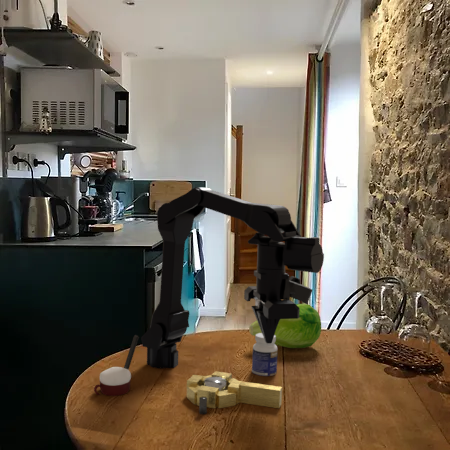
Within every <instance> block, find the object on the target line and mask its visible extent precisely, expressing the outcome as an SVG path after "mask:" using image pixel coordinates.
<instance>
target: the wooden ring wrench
mask: <svg viewBox="0 0 450 450" xmlns="http://www.w3.org/2000/svg"><path fill="white" fill-rule="evenodd" d="M209 377H221V378H224V379H225V380H226V390H223V391H219V388H215V387H208V386H204V380H205V379H206V378H209ZM282 395H283V386H277V385H270V384H262V383H256V382H247V381H243V380H238V379H236V378H234V377H233V373H230V372H223V371H214V372H213V373H212V374H210V375H198V374H192V376H191V377H190V378H188V379H187V380H186V398H187V399H188V400H189V401H190V402H191V403H192V404H193V405H195V406H198V407H199V399H200V397H207V408H210V409H216V408H218V409H223V408H228V407H234V406H236V405H239V404H240V403H242V404H248V405H254V406H259V407H260V406H261V407H269V408H275V409H280V408H281V406H282V402H283V401H282V400H283V399H282V398H283V397H282Z"/></svg>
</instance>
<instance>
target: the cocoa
mask: <svg viewBox="0 0 450 450" xmlns="http://www.w3.org/2000/svg"><path fill="white" fill-rule="evenodd" d="M139 338H140V337H139V335H137V334H135V335H134V336H133V338H132V342H131V344H130V347H129V351H128V353H127V354H128V355H127V357H126V360H125V363H124V365H123V367H121V366H112V367H109V368H107V369H105V370H103V371H101V372H100V373H99V384H96V385H95V386H94V388H93V390H94V393H95V394H96V395H98V396H99V395H100V396H101V393H102V394H103V395H105V396H109V397H110V396H112V397H115V396H117V397H118V396H122V395H124V394H127V393H128V392H129V391H130V390H131V389H130V388H131V382H132V381H131V378H132V374H131V371H130V365H131V363H132V360H133V357H134V354H135V351H136V347H137V344H138V341H139ZM98 388H100V393H98V391H97V389H98Z"/></svg>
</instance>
